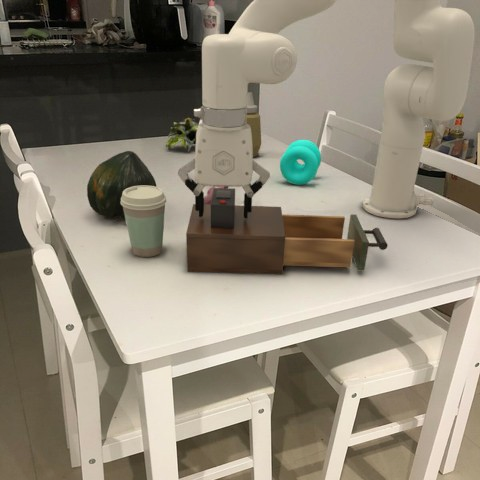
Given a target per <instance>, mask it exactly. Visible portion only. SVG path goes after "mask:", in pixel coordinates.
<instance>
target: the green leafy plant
mask: <svg viewBox="0 0 480 480" xmlns="http://www.w3.org/2000/svg"><path fill="white" fill-rule="evenodd" d="M198 125H199V122H196V120H195V118H193V119H192V118H190V117H187V118H182V121H180V122H175V121H174V122H173V126H174V127H170V130H171V131H170V132H169V134H168V138H169V139H168V140H167V141H166V144H165V148H167V149H168V150H170V149H171V148H172V147H174V146H175V145H177V144H179V143H181V144H182V146H183V147H184V148H185V149H187V148H188V150H187V154H189V152H190V150H191V148H192V146H193V145H196V133H197V129H198ZM187 146H188V147H187Z"/></svg>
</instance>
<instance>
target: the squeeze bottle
mask: <svg viewBox="0 0 480 480" xmlns="http://www.w3.org/2000/svg"><path fill="white" fill-rule="evenodd" d="M246 124H248V125H250V128H251V133H252V146H253V158H254V157H257V156H258V155H259V152H260V149H261V147H262V129H261V127H262V126H261V115H260V114H259V113H258V105H256V104H255V102H254V96H253V92H251V91H250V92H249V91H248V92H247V121H246Z"/></svg>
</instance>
